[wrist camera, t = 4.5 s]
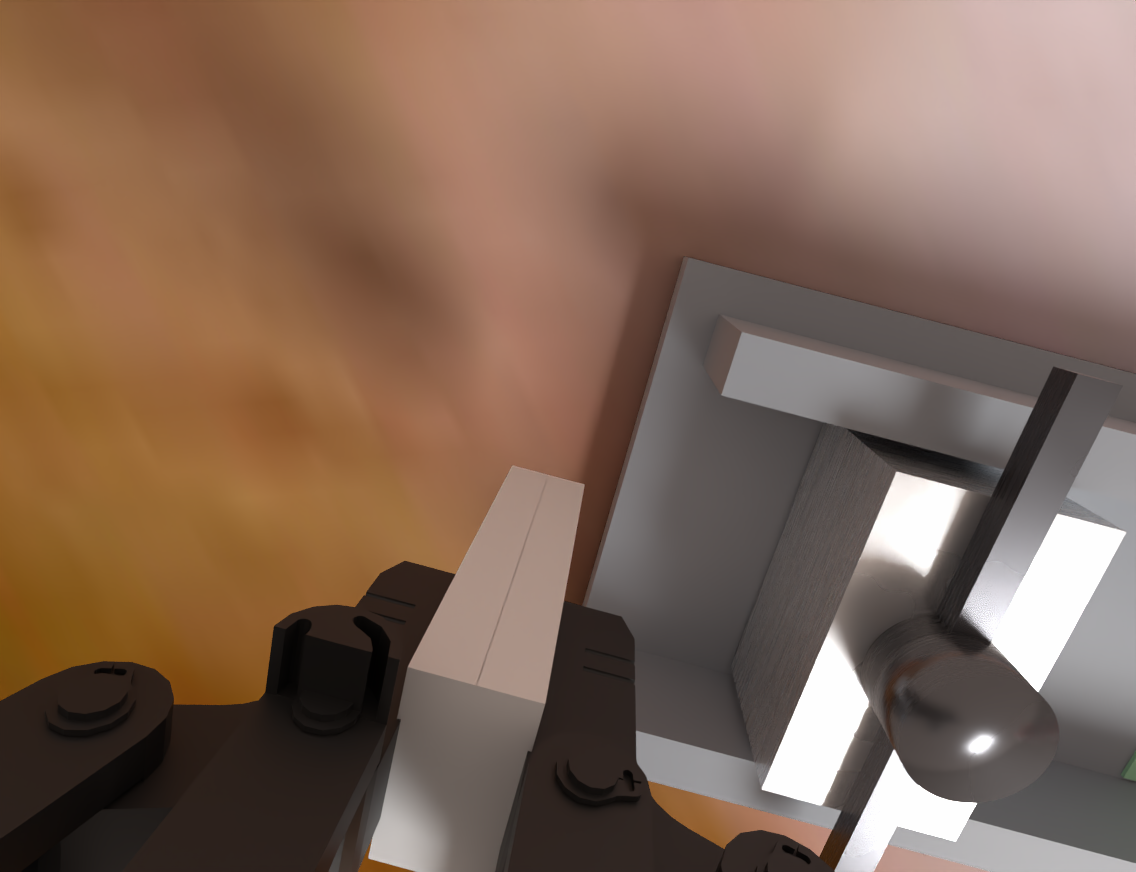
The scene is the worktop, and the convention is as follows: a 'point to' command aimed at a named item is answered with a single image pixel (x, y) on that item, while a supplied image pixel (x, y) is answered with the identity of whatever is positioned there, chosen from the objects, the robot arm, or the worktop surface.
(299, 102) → the worktop surface
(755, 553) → the gauge bed
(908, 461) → the slider
